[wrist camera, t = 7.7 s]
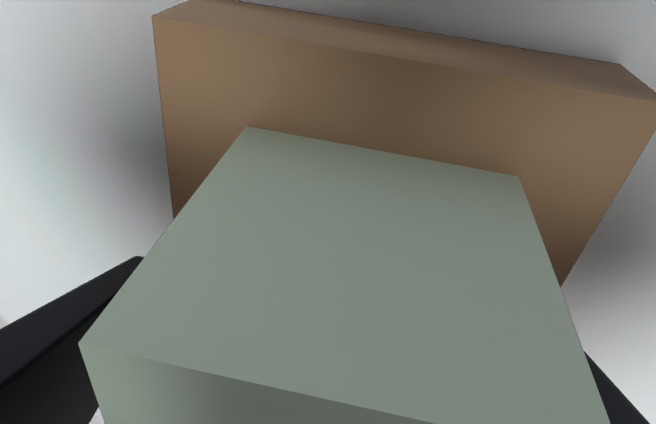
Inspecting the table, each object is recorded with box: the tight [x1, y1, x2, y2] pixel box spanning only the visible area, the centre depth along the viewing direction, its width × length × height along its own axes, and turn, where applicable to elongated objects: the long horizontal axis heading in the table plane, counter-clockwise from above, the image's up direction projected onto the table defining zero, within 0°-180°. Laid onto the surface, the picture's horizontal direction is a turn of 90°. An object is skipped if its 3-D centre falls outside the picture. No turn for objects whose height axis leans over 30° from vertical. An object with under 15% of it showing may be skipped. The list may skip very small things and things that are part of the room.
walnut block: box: [152, 0, 656, 287], centre depth 12 cm, size 10×10×2 cm
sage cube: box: [78, 126, 611, 424], centre depth 9 cm, size 6×6×6 cm
